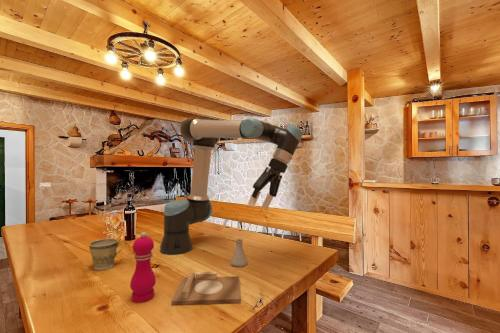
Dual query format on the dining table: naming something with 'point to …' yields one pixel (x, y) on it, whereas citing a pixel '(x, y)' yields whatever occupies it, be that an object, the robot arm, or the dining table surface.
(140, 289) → the pepper mill
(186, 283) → the jig board
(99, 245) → the ceramic cup
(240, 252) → the flask
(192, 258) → the dining table surface
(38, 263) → the dining table surface
